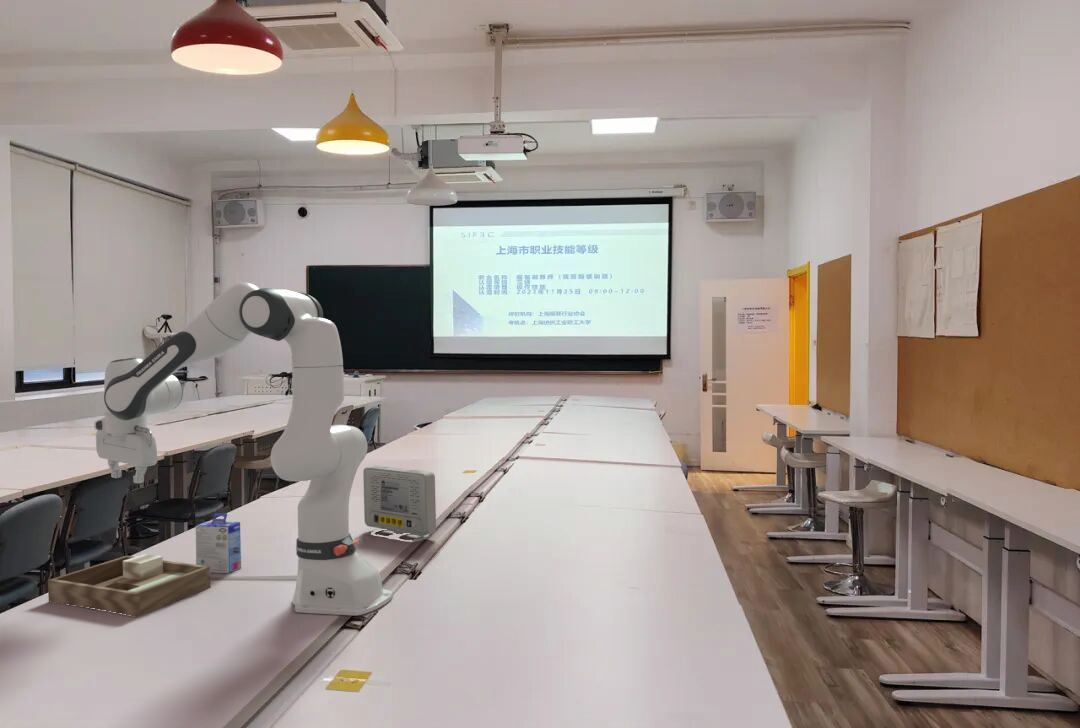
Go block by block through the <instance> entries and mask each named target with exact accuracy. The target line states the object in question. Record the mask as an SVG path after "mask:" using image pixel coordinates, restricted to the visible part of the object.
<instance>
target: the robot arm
mask: <svg viewBox="0 0 1080 728" xmlns="http://www.w3.org/2000/svg"><path fill="white" fill-rule="evenodd" d="M252 333H253V334H254V335H257V336H259V337H263V338H267V339H271V340H274V341H275V342H276V341H277V342H279V341H283V340H284V341H285V342H286V343H287V344H288V346H289V347H290V351H291V367H292V369H291V371H292V372H291V373H292V374H291V376H292V402H291V409H290V413H289V417H288V420H287V423H286V426H285V429H284V431H283V433H282V434H281V436H280V437H279V438H278V439H277V440H276V442H275V443H274V445H273V446H272V448H271V450H270V451H271V452H270V464H271V467H272V469H273V471H274V473H275V475H277V476H278V477H279V478H280V479H281V480H283V481H287V482H307V481H310V482H309V485H308V487H307V489H306V491H305V493H304V494H303V496H302V497H301V498H300V500H299V502H298V505H297V535H298V536H297V539H296V542H295V543H296V546H295V548H296V556H297V557H298V559H297V562H298V563H297V572H296V573H297V574H296V575H297V576H296V584H295V589H294V593H293V597H292V604H293V605H294V612H295V613H300V614H301V613H303V614H304V613H305V614H317V615H318V614H320V615H321V614H322V615H334V616H337V615H340V616H361V615H364V614H368V613H371V612H373V611H375V610H377V609H379V608H381V607H383V606H384V605H386V604H387V603H389V602H390V601H391V600H392V598H393V590H389V589H385V588H383V583H382V578H381V574H380V571H379V570H378V568H376V567H375V566H373V565H372V564H371V563H369V561H367V560H366V559H365V558H364V557H363V556H362V555H361V554H360V553H359V552H357V551H356V550H357V548H356V546H357V545H359V544H360V542H359V541H360V538H358V539H355V540H353V538H352V535H351V533H350V532H349V529H350V528H349V518H350V517H349V516H350V515H349V506H350V495H351V490H352V488H353V483H354V480H355V476H356V473H357V471H358V468H359V466H360V465H361V463H362V462H363V460H365V457H366V456H367V453H368V441H367V438H366V436H365V434H364V433H363V431H362V430H361V429H360V428H358V427H356V426H352V425H346V424H334V425H333V420H334V417H335V415H336V412H337V411H338V409H339V407H340V406H341V405H342V404H343V402H344V400H345V383H344V382H345V380H344V359H343V358H344V357H343V351H342V349H343V348H342V345H341V339H340V335H339V331H338V328H337V326H336V324H335V322H333V321H332V320H329V319H327V318H324V311H323V308H322V306H321V304H320V302H319V301H318V300H317V299H316V298H315V297H313V296H311V295H310V294H307V293H305V292H297V291H293V290H290V289H285V288H268V287H261V288H260V287H258V286H257V285H256V284H253V283H251V282H245V281H244V282H243V281H241V282H237V283H235V284H233V285H232V286H230V287H228V288H227V289H225V291H223V292H222V293H220V294H219V295H218V296H217V297H216V298H214V300H212V301H211V302H210V303H209V304H208V305H206V307H205V308H204V309H203V310H202V311H201V312H200V313H199V314H197V316H195V318H194V319H192V320H191V321H190V322H189V323H188V324H186V326H184V327H183V328H182V329H180V330H179V331H178V332H177V333H175V334H174V335H173V336H171V337H170V338H169V339H167V340H166V341H165V342H163V343H162V344H161V345H159V347H157V348H156V349H155V350H154V351H153V352H151V353H150V354H148V356H147V357H145V358H144V359H142V358H138V357H127V358H120V359H115V360H112V361H110V362H108V363H107V366H106V367H105V372H104V379H103V380H104V381H103V383H104V384H103V385H104V386H103V387H104V389H103V391H104V395H103V401H104V405H105V410H104V417H102V418H100V419H97V420H95V421H94V423H93V424H94V430H96V433H95V445H96V446H95V448H96V453H97V455H98V457H99V458H100V459H103V460H107V465H108V468H109V469H110V473H111V475H110V476H111V478H114V479H118V478H122V475H123V474H122V472H123V471H122V469H120V465H119V464H120V463H123V464H128V465H132V466H134V470H135V475H133V477H132V478H133V479H132V480H133V483H135V484H142V483H144V482H145V474H146V472H147V470H148V467H151V466H155V465H157V463H158V450H157V447H158V446H157V441H156V438H155V436H154V435H153V433H152V431H151V430H150V428H149V427H147V425H148V421H147V420H148V419H147V418H148V417H147V416H149V415H153V414H154V415H156V414H159V413H164V412H168V411H171V410H174V409H176V408H177V407H179V406H180V404H181V402H182V400H183V395H184V391H183V385H182V383H181V380H179V379H178V377H177V376H175V375H174V374H175V373H176V372H177V371H179V370H180V369H182V368H184V367H186V366H188V365H192V364H195V363H198V362H203V361H207V360H211V359H214V358H215V359H217V358H220V357H223V356H225V355H227V354H229V353H230V352H232V351H233V350H235V349H236V348H238V346H240V345H241V344H242V343H243V342H244V341H245V340H246V339H247V337H249V335H251V334H252Z"/></svg>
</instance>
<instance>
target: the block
mask: <svg viewBox="0 0 1080 728" xmlns="http://www.w3.org/2000/svg"><path fill="white" fill-rule="evenodd" d="M163 558H164V557H163V556H162V555H154V554H147V553H143V554H141V555H137V556H134V558H131V559H128V560H124V561H123V578H129V579H136V580H144V579H147V578H149V577H152V576H155V575H158V574H161V573H163V560H164V559H163Z"/></svg>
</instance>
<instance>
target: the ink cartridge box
mask: <svg viewBox="0 0 1080 728" xmlns="http://www.w3.org/2000/svg"><path fill="white" fill-rule="evenodd" d="M220 516H221V517H223V518H217V517H220ZM227 518H228V513H226V512H215V513H214V515H213V518H212V521H211V520H210V521H204V522H202V523H199V524H196V525H195V565H201V566H209V567H210V573H216V574H230V573H232V572H235V571H237V570H240V569H242V547H241V543H242V540H241V522H240V521H227Z"/></svg>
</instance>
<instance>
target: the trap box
mask: <svg viewBox="0 0 1080 728" xmlns="http://www.w3.org/2000/svg"><path fill="white" fill-rule="evenodd" d="M134 557H135V556H133V555H132V556H131V555H124V556H121V557H117V558H115V559H111V560H108V561H104V562H103V563H99V564H95V565H92V566H89V567H88V566H87V567H86V568H82V569H79V570H75V571H73V572H69V573H67V574H64V575H61V576H57V577H55V578H54V577H53V578H50V579H48V580H47V593H48V596H47V597H48V602H49V603H53V602H56V603H55V604H59V603H63V604H62V605H64V604H69V605H68V606H70V605H76V606H83V607H89V608H95V609H100V610H106V611H111V612H116V613H122V614H126V615H125V616H127V615H131V616H130V617H132V616H136V617H135V618H138V617H140V615H141V616H143V615H145V613H146V614H148V613H151V612H153V611H155V610H159V609H160V608H163V607H165V606H167V605H170V604H172V603H175V602H177V601H180V600H182V599H186V598H188V597H190V596H192V595H194V594H197V593H200V592H202V591H204V590H207V589H209V588H211V572H210V567H209V566H201V565H196V564H194V563H186V562H185V563H184V562H177V561H170V560H164V559H163V573H161V574H158V575H155V576H152V577H149V578H147V579H144V580H136V579H129V578H123V561H124V560H128V559H131V558H134ZM50 601H51V602H50ZM76 606H75V607H76ZM150 611H151V612H150ZM137 616H138V617H137Z"/></svg>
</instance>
